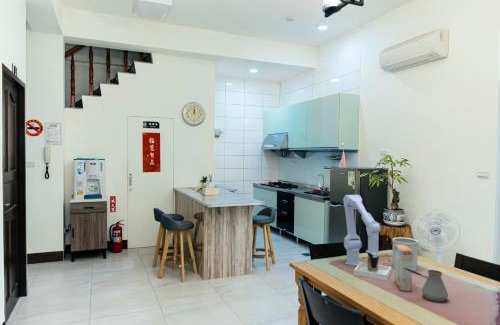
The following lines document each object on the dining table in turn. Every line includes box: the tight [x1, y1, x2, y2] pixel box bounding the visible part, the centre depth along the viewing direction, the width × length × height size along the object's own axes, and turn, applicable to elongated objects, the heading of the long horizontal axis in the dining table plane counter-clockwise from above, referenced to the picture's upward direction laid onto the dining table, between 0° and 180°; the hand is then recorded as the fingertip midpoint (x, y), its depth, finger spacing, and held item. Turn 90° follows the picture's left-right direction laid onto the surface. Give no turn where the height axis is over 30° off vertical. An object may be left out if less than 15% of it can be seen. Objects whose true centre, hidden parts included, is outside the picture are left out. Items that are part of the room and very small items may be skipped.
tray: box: [353, 261, 393, 281], centre depth 206 cm, size 18×18×3 cm
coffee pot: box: [403, 268, 449, 302], centre depth 169 cm, size 21×12×15 cm, turn 93°
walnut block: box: [367, 257, 379, 271], centre depth 206 cm, size 5×5×6 cm
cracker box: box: [394, 244, 413, 292], centre depth 185 cm, size 14×6×21 cm, turn 168°
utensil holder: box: [391, 236, 420, 272], centre depth 217 cm, size 15×15×18 cm
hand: (372, 266), depth 206 cm, fingers closed on walnut block, 5 cm apart
